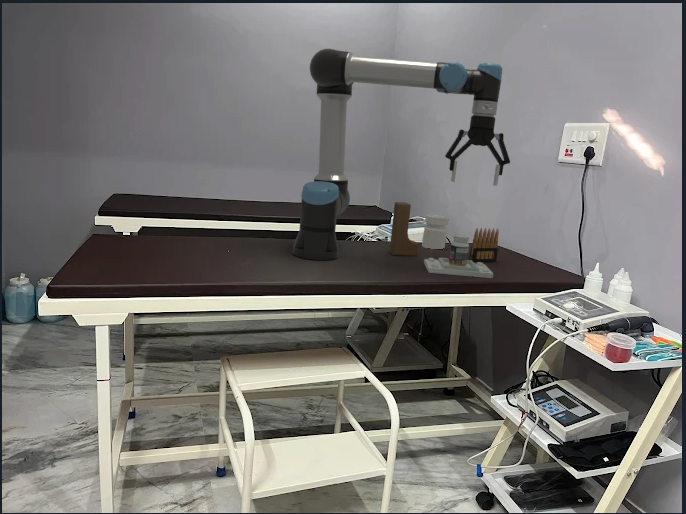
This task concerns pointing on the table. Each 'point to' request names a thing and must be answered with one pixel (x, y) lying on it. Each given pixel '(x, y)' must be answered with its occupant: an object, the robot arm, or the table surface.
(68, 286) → the table surface
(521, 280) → the table surface
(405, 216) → the wooden block
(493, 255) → the ammunition clip
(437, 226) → the white lidded jar
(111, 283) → the table surface
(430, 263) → the base plate
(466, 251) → the pill bottle
